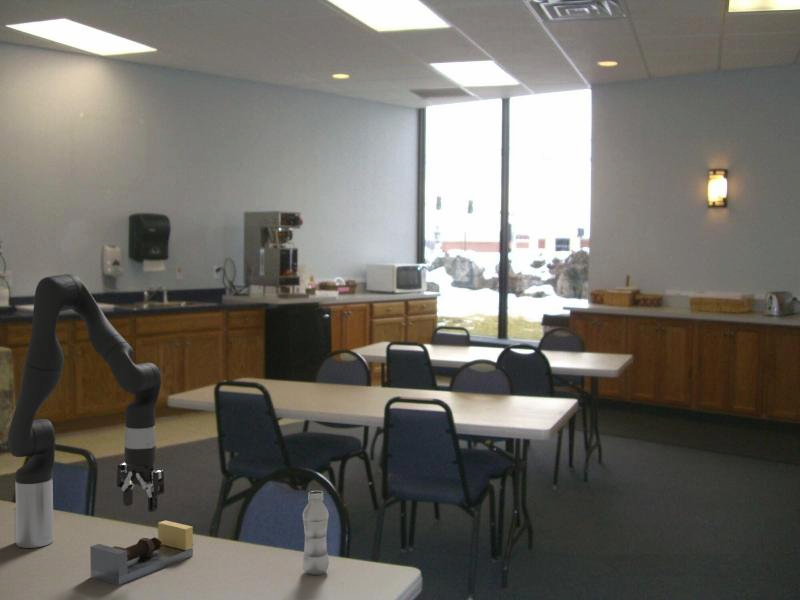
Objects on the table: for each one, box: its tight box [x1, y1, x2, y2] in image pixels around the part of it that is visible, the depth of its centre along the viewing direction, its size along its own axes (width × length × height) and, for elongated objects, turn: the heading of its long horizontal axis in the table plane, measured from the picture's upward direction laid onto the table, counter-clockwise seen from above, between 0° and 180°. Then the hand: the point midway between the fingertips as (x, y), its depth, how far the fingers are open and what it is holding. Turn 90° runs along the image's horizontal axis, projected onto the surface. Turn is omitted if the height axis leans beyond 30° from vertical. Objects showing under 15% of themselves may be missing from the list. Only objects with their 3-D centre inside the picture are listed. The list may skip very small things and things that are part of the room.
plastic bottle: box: [302, 490, 330, 576], centre depth 214 cm, size 6×7×20 cm
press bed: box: [89, 543, 194, 586], centre depth 218 cm, size 10×24×8 cm, turn 148°
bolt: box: [112, 536, 161, 562], centre depth 217 cm, size 6×5×15 cm
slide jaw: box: [157, 520, 194, 550], centre depth 228 cm, size 10×2×6 cm, turn 58°
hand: (140, 508), depth 217 cm, fingers open, 8 cm apart
